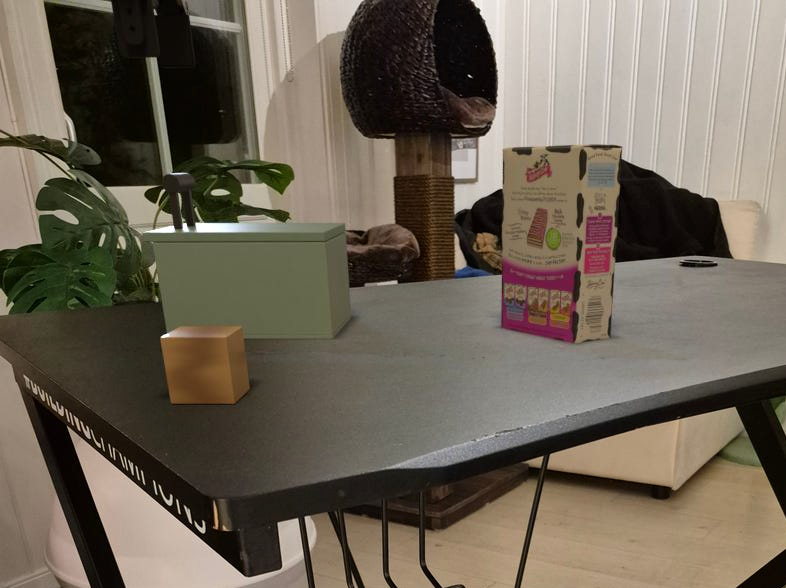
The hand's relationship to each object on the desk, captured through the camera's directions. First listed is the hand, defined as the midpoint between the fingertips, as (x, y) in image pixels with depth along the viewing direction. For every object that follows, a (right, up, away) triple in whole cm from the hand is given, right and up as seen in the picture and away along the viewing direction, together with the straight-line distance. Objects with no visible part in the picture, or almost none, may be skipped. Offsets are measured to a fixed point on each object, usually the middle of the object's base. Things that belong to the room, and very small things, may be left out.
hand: (160, 62), depth 79 cm
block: (+8, -33, -12) cm, 36 cm away
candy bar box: (+35, -21, +9) cm, 42 cm away
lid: (+6, -12, +8) cm, 15 cm away
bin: (+6, -20, +12) cm, 24 cm away
